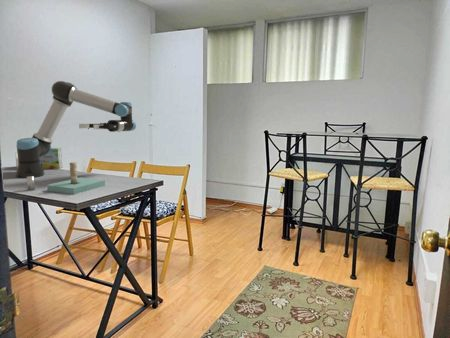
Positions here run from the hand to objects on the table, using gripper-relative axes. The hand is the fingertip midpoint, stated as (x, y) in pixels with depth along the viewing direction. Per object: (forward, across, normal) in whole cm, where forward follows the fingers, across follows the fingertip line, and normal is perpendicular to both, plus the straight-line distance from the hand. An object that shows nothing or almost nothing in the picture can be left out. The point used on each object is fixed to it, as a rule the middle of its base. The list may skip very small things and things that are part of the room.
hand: (86, 126), depth 190 cm
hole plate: (+19, -16, -32) cm, 41 cm away
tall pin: (+21, -16, -32) cm, 42 cm away
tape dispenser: (-4, +72, -32) cm, 79 cm away
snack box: (-6, +56, -32) cm, 65 cm away
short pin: (+35, -1, -32) cm, 48 cm away
